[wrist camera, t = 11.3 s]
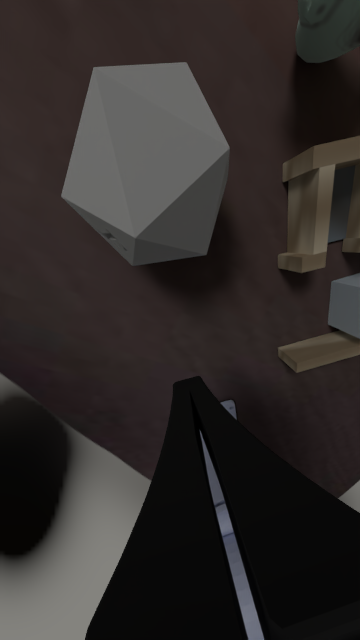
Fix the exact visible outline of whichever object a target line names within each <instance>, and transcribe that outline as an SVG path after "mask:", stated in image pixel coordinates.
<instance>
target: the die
mask: <svg viewBox="0 0 360 640" xmlns="http://www.w3.org/2000/svg"><path fill="white" fill-rule="evenodd" d="M229 152H230V147H229V145H228V143H227V141H226V140H225V138H224V136H223V134H222V132H221V130H220V128H219V126H218V124H217V122H216V120H215V118H214V116H213V114H212V112H211V110H210V108H209V106H208V104H207V102H206V100H205V98H204V96H203V94H202V92H201V90H200V88H199V86H198V84H197V82H196V80H195V79H194V77H193V75H192V73H191V71H190V69H189V67H188V65H187V63H186V62H182V63H164V64H145V65H127V66H109V67H94V68H93V72H92V76H91V80H90V84H89V88H88V92H87V96H86V100H85V104H84V108H83V112H82V116H81V120H80V124H79V128H78V132H77V136H76V140H75V144H74V148H73V152H72V156H71V160H70V164H69V167H68V171H67V175H66V179H65V183H64V187H63V191H62V195H61V197H62V198H63V199H64V200H65V201H66V202H67V203H68V204H69V205H70V206H71V207H72V208H74V209H75V210H76V211H77V212H78V213H79V214H80V215H81V216H82V217H83V218H84V219H85V220H86V221H87V222H88V223H89V224H90V225H91V226H92V227H93V228H94V229H95V230H96V231H97V232H98V233H99V234H100V235H101V236H102V237H103V238H104V239H105V240H106V241H107V242H108V243H109V244H110V245H111V246H112V247H114V248H115V249H116V250H117V251H118V252H119V253H120V254H121V255H122V256H123V257H124V258H125V259H126V260H127V261H128V262H129V263H130V264H131V265H132V266H137V265H143V264H150V263H156V262H163V261H170V260H176V259H183V258H190V257H196V256H203V255H207V251H208V248H209V244H210V240H211V237H212V233H213V229H214V226H215V222H216V219H217V215H218V211H219V208H220V204H221V200H222V197H223V193H224V190H225V186H226V182H227V179H228V167H229Z"/></svg>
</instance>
